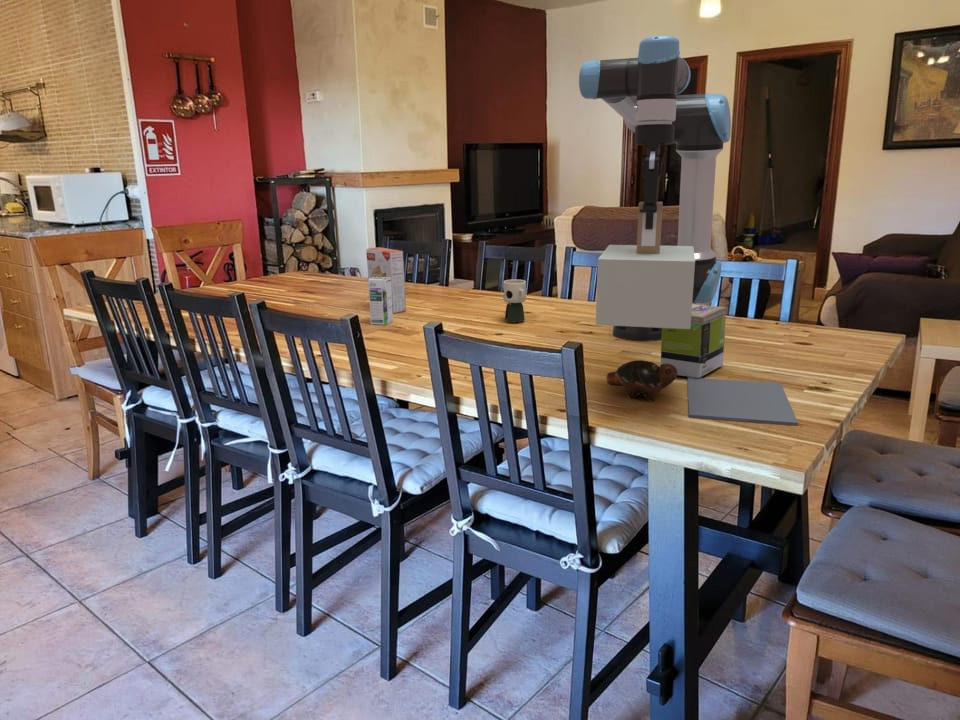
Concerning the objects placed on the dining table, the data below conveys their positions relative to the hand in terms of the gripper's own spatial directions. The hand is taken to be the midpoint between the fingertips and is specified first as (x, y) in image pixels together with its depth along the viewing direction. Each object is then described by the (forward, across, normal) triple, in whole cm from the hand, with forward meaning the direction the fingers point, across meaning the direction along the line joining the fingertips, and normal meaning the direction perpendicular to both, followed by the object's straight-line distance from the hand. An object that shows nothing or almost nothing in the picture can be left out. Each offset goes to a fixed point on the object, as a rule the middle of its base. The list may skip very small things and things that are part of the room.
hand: (648, 243), depth 143 cm
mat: (+33, -1, +20) cm, 38 cm away
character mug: (+33, -63, -42) cm, 83 cm away
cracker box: (+33, -72, -89) cm, 119 cm away
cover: (+15, 0, 0) cm, 15 cm away
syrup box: (+33, -53, -83) cm, 104 cm away
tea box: (+33, -21, +11) cm, 40 cm away
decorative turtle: (+33, 0, 0) cm, 33 cm away
